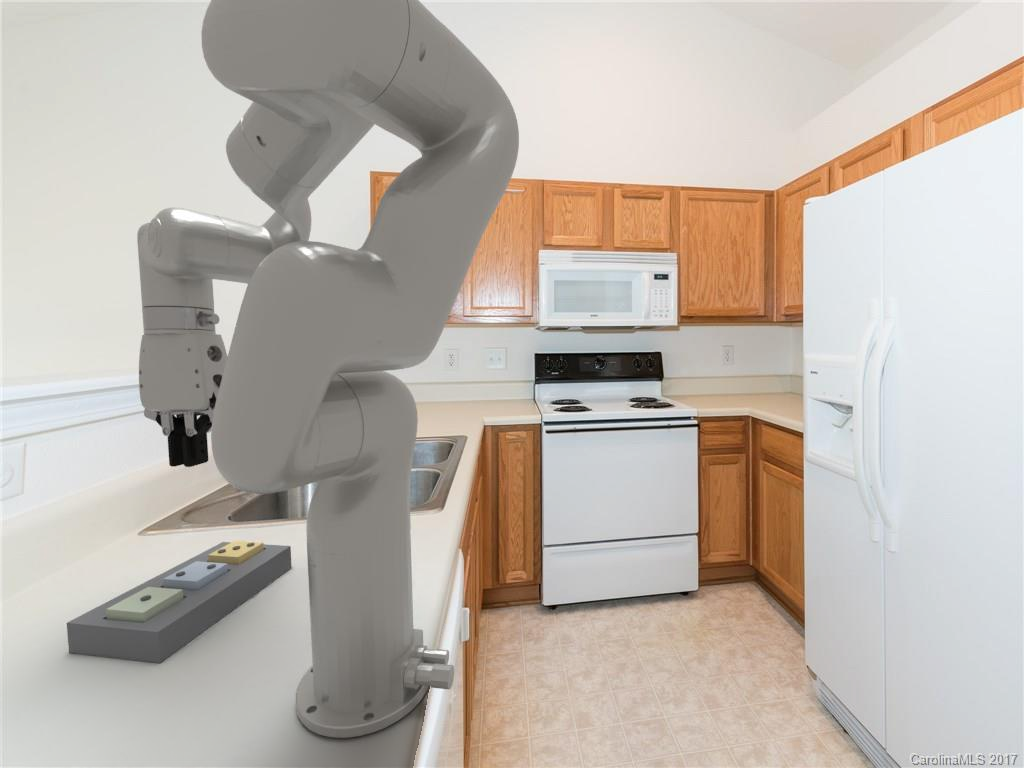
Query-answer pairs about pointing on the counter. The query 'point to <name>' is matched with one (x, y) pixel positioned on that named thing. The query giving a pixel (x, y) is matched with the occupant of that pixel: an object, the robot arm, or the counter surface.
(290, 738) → the counter surface
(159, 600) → the tile one
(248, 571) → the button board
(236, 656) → the counter surface
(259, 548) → the tile three
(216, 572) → the tile two
